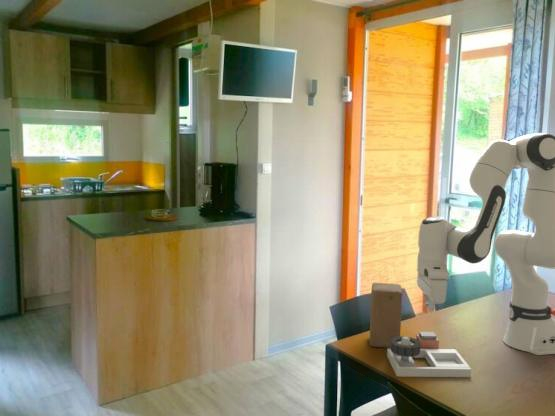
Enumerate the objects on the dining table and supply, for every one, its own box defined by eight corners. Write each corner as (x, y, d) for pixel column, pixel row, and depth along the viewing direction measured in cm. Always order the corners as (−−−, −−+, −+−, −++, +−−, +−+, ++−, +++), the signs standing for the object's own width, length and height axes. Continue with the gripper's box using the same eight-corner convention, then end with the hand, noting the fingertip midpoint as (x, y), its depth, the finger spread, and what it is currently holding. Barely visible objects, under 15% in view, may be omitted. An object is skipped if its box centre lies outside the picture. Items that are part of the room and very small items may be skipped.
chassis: (454, 356, 170) (456, 330, 168) (470, 377, 155) (472, 348, 154) (387, 355, 170) (388, 329, 168) (396, 376, 155) (398, 347, 154)
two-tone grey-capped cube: (433, 348, 176) (434, 331, 175) (438, 355, 171) (439, 337, 170) (415, 348, 176) (416, 331, 175) (419, 354, 171) (420, 336, 170)
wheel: (415, 344, 166) (416, 336, 166) (423, 356, 157) (423, 347, 157) (388, 344, 166) (388, 336, 166) (394, 356, 157) (394, 347, 157)
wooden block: (399, 349, 174) (402, 292, 172) (369, 347, 176) (371, 290, 174) (398, 338, 184) (401, 283, 181) (370, 336, 186) (372, 281, 183)
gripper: (413, 259, 179) (411, 297, 181) (430, 275, 159) (428, 318, 161) (431, 259, 179) (429, 298, 181) (451, 275, 159) (448, 318, 161)
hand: (429, 308), depth 171 cm, fingers open, 2 cm apart
